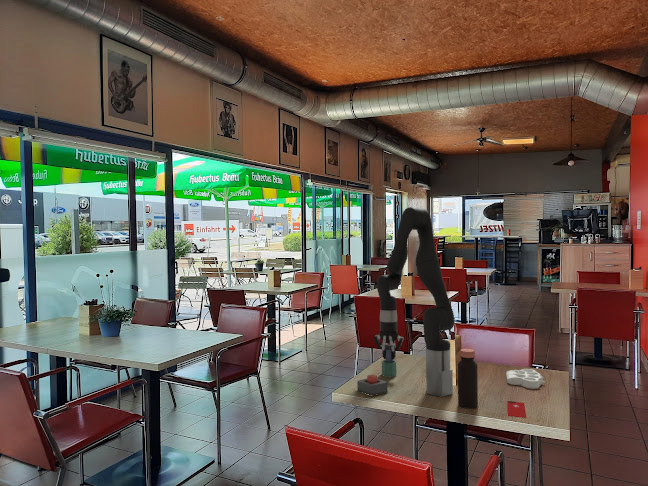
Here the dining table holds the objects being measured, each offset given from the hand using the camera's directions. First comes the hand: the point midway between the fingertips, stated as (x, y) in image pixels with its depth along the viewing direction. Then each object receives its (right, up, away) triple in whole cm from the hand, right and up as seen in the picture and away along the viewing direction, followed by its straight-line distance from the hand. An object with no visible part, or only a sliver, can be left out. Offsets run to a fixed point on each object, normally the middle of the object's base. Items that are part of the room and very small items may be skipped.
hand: (389, 358), depth 210 cm
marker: (0, -4, 0) cm, 4 cm away
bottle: (+23, -8, -39) cm, 46 cm away
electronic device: (+39, -8, -43) cm, 58 cm away
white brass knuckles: (+55, -7, -12) cm, 57 cm away
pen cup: (0, -7, 0) cm, 7 cm away
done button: (-10, -5, -22) cm, 24 cm away
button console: (-10, -8, -22) cm, 25 cm away
